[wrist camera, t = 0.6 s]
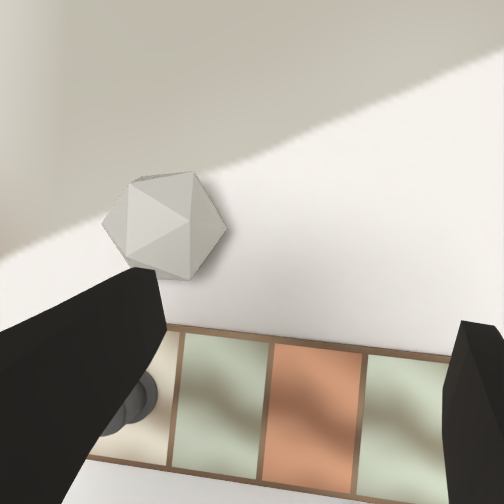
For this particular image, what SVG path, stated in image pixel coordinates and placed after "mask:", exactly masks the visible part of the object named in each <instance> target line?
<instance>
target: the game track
mask: <svg viewBox="0 0 504 504" xmlns="http://www.w3.org/2000/svg"><path fill="white" fill-rule="evenodd" d="M166 326H167V332H166V334H165V336H164V338H163V340H162V342H161V344H160V346H159V348H158V350H157V352H156V354H155V356H154V358H153V360H152V362H151V363H150V365H149V366H148V368H147V369H146V371H147V372H148V373H149V374H150V375H151V376H152V377H153V379H154V380H155V382H156V385H157V389H158V398H157V402H156V405H155V407H154V408H153V410H152V411H151V412H150V413H149V414H148V415H147V416H146V417H145V418H144V419H143V420H141V421H139V422H137V423H133V424H126V425H125V426H124V427H123V428H122V429H121V430H119V431H118V432H116V433H115V434H112V435H109V436H105V437H99V439H98V440H97V442H96V444H95V445H94V447H93V448H92V450H91V451H90V453H89V455H88V456H87V458H86V459H89V460H95V461H102V462H108V463H115V464H121V465H128V466H134V467H141V468H147V469H154V470H160V471H167V472H173V473H180V474H186V475H193V476H199V477H206V478H212V479H219V480H225V481H232V482H238V483H245V484H251V485H258V486H264V487H271V488H277V489H284V490H290V491H297V492H303V493H310V494H316V495H323V496H329V497H336V498H342V499H349V500H355V501H362V502H368V503H375V504H449V499H448V490H447V481H446V471H445V461H444V452H443V442H442V388H443V384H444V381H445V377H446V373H447V370H448V366H449V363H450V359H451V356H444V355H435V354H426V353H418V352H409V351H400V350H392V349H383V348H374V347H366V346H357V345H348V344H340V343H331V342H322V341H314V340H305V339H296V338H288V337H279V336H270V335H262V334H253V333H244V332H236V331H227V330H218V329H210V328H201V327H192V326H184V325H175V324H166Z"/></svg>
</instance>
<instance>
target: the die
mask: <svg viewBox="0 0 504 504" xmlns="http://www.w3.org/2000/svg"><path fill="white" fill-rule="evenodd" d="M102 226H103V227H104V229H105V230H106V232H107V233H108V235H109V236H110V238H111V239H112V241H113V242H114V244H115V245H116V247H117V248H118V250H119V251H120V253H121V254H122V256H123V257H124V259H125V260H126V262H127V263H128V265H129V266H130V267H131V268H133V267H140V268H146V269H152V270H155V272H156V277H157V279H171V280H191V278H192V277H193V276H194V274H195V273H196V271H197V270H198V269H199V267H200V266H201V264H202V263H203V262H204V260H205V259H206V257H207V256H208V255H209V253H210V252H211V250H212V249H213V248H214V246H215V245H216V243H217V242H218V241H219V239H220V238H221V236H222V235H223V234H224V232H225V231H226V229H227V228H226V226H225V224H224V222H223V221H222V219H221V217H220V215H219V214H218V212H217V210H216V209H215V207H214V205H213V203H212V202H211V200H210V198H209V196H208V195H207V193H206V191H205V190H204V188H203V186H202V184H201V183H200V181H199V179H198V178H197V176H196V174H195V172H194V171H193V172H183V173H173V174H162V175H152V176H142V177H140V178H138V179H136V180H135V181H133V182H131V183H129V184H128V186H127V187H126V189H125V190H124V191H123V193H122V194H121V196H120V198H119V199H118V200H117V202H116V203H115V205H114V206H113V208H112V209H111V210H110V212H109V213H108V215H107V216H106V218H105V219H104V221H103V222H102Z"/></svg>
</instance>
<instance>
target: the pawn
mask: <svg viewBox="0 0 504 504" xmlns="http://www.w3.org/2000/svg"><path fill="white" fill-rule="evenodd" d="M157 398H158V389H157V385H156V382H155V380H154V379H153V377H152V376H151V375H150V374H149V373H148V372H147V371H145V372H144V374H143V375H142V377H141V378H140V380H139V381H138V383H137V384H136V386H135V387H134V389H133V390H132V391H131V393H130V394H129V396H128V397H127V399H126V400H125V401H124V403H123V404H122V406H121V407H120V409H119V410H118V411H117V413H116V414H115V416H114V417H113V419H112V420H111V421H110V423H109V424H108V426H107V427H106V429H105V430H104V431H103V433H102V434H101V436H100V437H105V436H109V435H112V434H115V433H116V432H118V431H119V430H121V429H122V428H123V427H124V426H125V425H126V424H133V423H137V422H139V421H141V420H143V419H144V418H145V417H146V416H147V415H148V414H149V413H150V412H151V411H152V410H153V408H154V407H155V405H156V402H157Z"/></svg>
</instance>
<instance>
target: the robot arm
mask: <svg viewBox="0 0 504 504" xmlns="http://www.w3.org/2000/svg"><path fill="white" fill-rule="evenodd" d="M166 332H167V326H166V321H165V316H164V311H163V306H162V301H161V296H160V291H159V287H158V282H157V277H156V272H155V270H152V269H146V268H140V267H133V268H130V269H128V270H126V271H124V272H121V273H119V274H117V275H115V276H113V277H111V278H109V279H107V280H105V281H103V282H101V283H99V284H97V285H95V286H94V287H92V288H90V289H88V290H86V291H84V292H82V293H80V294H78V295H76V296H74V297H72V298H70V299H68V300H66V301H64V302H62V303H60V304H59V305H57V306H55V307H53V308H50V309H48V310H46V311H44V312H42V313H40V314H38V315H36V316H34V317H31V318H29V319H27V320H25V321H23V322H21V323H19V324H17V325H15V326H13V327H10V328H8V329H6V330H4V331H1V332H0V504H61V503H62V501H63V499H64V498H65V496H66V494H67V492H68V490H69V488H70V486H71V485H72V483H73V481H74V479H75V478H76V476H77V474H78V472H79V470H80V469H81V467H82V465H83V463H84V462H85V460H86V458H87V456H88V455H89V453H90V451H91V450H92V448H93V447H94V445H95V444H96V442H97V440H98V439H99V437H100V436H101V434H102V433H103V431H104V430H105V429H106V427H107V426H108V424H109V423H110V421H111V420H112V419H113V417H114V416H115V414H116V413H117V411H118V410H119V409H120V407H121V406H122V404H123V403H124V401H125V400H126V399H127V397H128V396H129V394H130V393H131V391H132V390H133V389H134V387H135V386H136V384H137V383H138V381H139V380H140V378H141V377H142V375H143V374H144V372H145V371H146V369H147V368H148V366H149V365H150V363H151V362H152V360H153V358H154V356H155V354H156V352H157V350H158V348H159V346H160V344H161V342H162V340H163V338H164V336H165V334H166ZM442 442H443V452H444V461H445V471H446V481H447V490H448V499H449V504H504V339H503V337H502V336H501V334H500V332H499V331H498V330H497V328H496V327H495V326H493V325H487V324H480V323H474V322H468V321H462V320H461V323H460V327H459V331H458V334H457V338H456V341H455V345H454V348H453V352H452V356H451V359H450V363H449V366H448V370H447V373H446V377H445V381H444V384H443V388H442Z"/></svg>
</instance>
